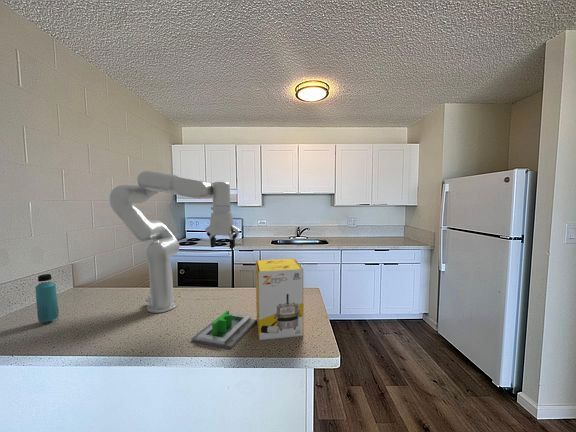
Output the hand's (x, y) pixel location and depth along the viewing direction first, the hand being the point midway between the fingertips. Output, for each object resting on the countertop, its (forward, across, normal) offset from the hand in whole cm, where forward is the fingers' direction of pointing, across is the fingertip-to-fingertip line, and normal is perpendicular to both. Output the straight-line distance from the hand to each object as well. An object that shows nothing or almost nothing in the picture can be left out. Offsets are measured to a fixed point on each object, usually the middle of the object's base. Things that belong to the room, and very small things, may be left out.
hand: (222, 247), depth 120 cm
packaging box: (+28, +30, -9) cm, 42 cm away
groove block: (+28, +12, -18) cm, 35 cm away
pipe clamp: (+27, +11, -18) cm, 35 cm away
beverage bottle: (+29, -62, -34) cm, 76 cm away
